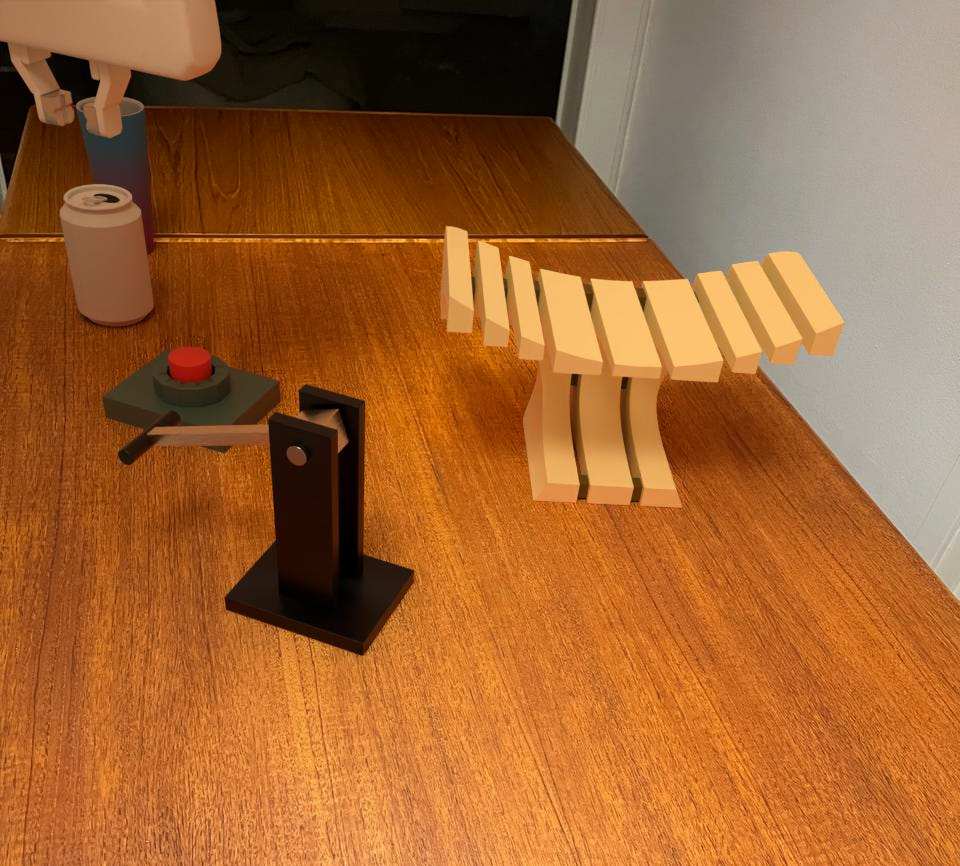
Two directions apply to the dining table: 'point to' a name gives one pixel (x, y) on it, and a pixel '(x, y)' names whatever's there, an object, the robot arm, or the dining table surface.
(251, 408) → the box
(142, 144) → the cup
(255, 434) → the lever
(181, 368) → the button
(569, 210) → the dining table surface
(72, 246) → the can
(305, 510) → the bracket
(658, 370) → the slatted curved stool
